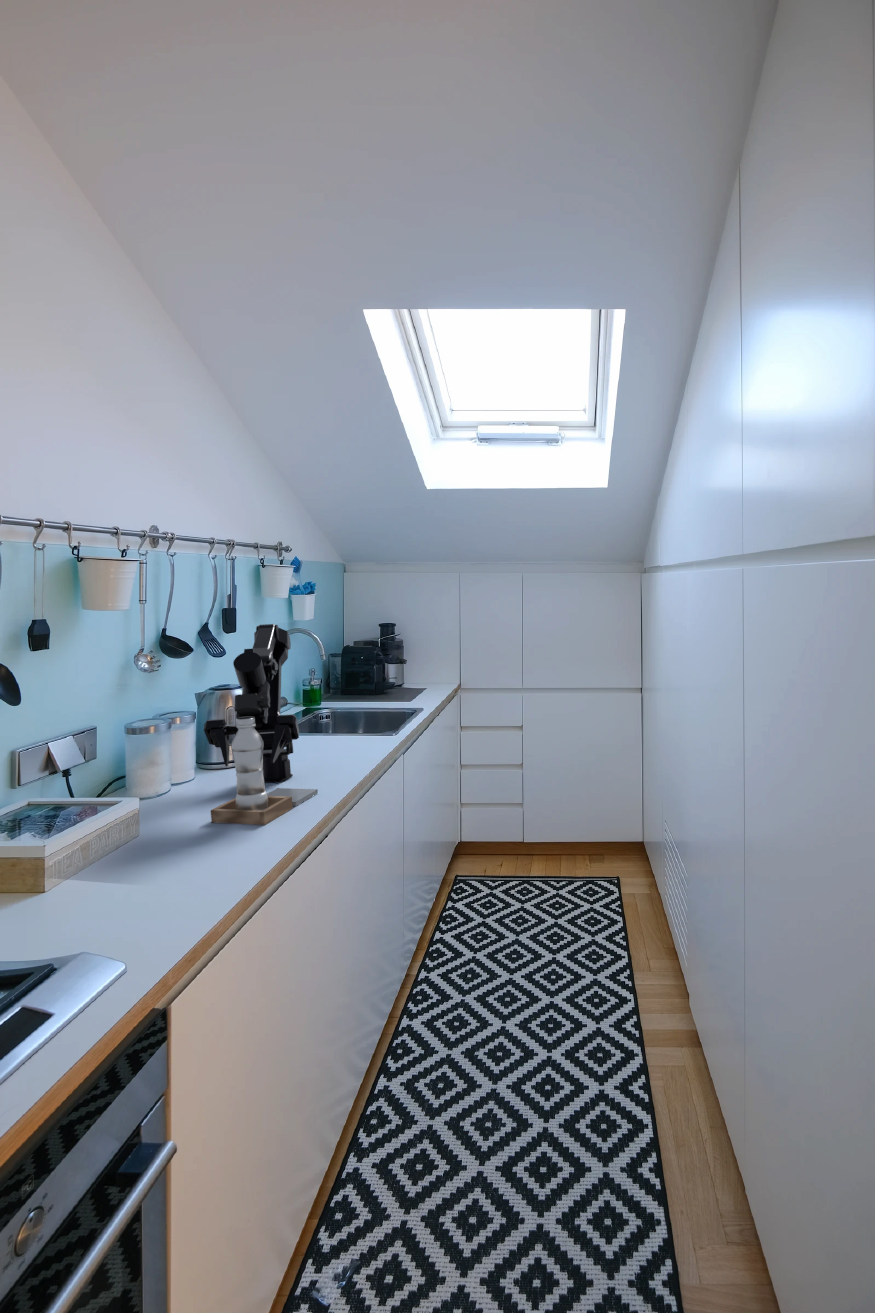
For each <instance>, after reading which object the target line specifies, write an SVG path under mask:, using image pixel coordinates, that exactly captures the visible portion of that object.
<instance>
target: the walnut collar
mask: <svg viewBox="0 0 875 1313" xmlns="http://www.w3.org/2000/svg"><path fill="white" fill-rule="evenodd" d="M293 807H294V806H292V797H283V796H268V808H266V809H264V810H263V811H258V810H237V809H236V797H235V798H233V799H231V800H229V801H226V802H225V803H222V804H220V805H218V806H216V807H214V808H212V809H210V819H211V823H215V824H216V823H217V824H233V825H234V824H239V825H257V826H258V825H259V826H261V825H262V826H265V825H268V824H269V823H271V822H274V820H276V819H277V818H279V817H280V816H283V815H284V814H286V813H288V812H290V811H291V810H293V809H294V808H293ZM289 810H290V811H289Z"/></svg>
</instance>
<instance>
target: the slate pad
mask: <svg viewBox="0 0 875 1313" xmlns="http://www.w3.org/2000/svg"><path fill="white" fill-rule="evenodd" d="M318 791H319V790H318V788H293V787H292V788H288V787H284V788H283V787H281V788H280V787H277V788H275V789H274V790H273V789H272V790H271V791H269V792H267V796H283V797H292V806H293V807H294V806H296V807H298V806H300V805H301V804H302V802H303V801H305V800H306V801H308V800H310V799H312V798H313V797H314V796H313V795H315V794H316V795H318V794H317V793H318ZM316 795H315V796H316ZM312 796H313V797H312ZM309 798H310V799H309ZM307 799H308V800H307ZM306 801H305V802H306ZM303 803H304V802H303ZM299 804H300V805H299ZM297 805H298V806H297Z"/></svg>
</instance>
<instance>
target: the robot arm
mask: <svg viewBox="0 0 875 1313" xmlns="http://www.w3.org/2000/svg"><path fill="white" fill-rule="evenodd" d="M255 630H256V631H255V632H254V633H253V636H254V638H253V641H254V642H253V645H252V648H244V649H243V652H242V653H241V654H238V655H237V656H236V657H235V658H234V659H233V662H232V663H233V664H232V665H233V668H234V671H235V674H236V679H237V681H238V684H239V686H240V687H241V688H242V692H241V693H240V694H235V696H234V712H236V714H235V719H236V718H239V717H246V716H253V717H254V718H255V724H256V726H255V727H254V728H255V730H256V731H257V732H258V733H259V735H260V736H261V737H262V740H263V768H262V769H263V777H264V783H282V782H283V781H286V780H288V779H290V778H291V777H293V773H291V772H292V770H291V762H290V761H291V760H290V759H289V755H291V754H294V743H293V741H295V740H298V739H299V738H300V727H299V724H298V723H299V722H298V717H297V716H296V715H295V714H294V713H293V714H281V704H282V703H281V701H282V700H281V698H282V697H281V696H282V666H283V665H284V664H285V663H286V662H287V660H288V658H289V650H291V643H292V642H291V635H290V633H289V631H287V630H286V629H283V628H281V627H279V624H275V623H269V624H267V623H266V624H265V623H264V624H259V625H256V627H255ZM203 725H204V726H203V731H204V734H205V737H206V739H207V742H208V744H209V745H212V746H214V747H215V748H220V751H221V754H222V759H223V762H224V765H225V767H228V766H229V762H230V748H231V745H230V742H229V741H230V736H235V734H236V733H237V731H238V728H236V725H237V723H236V724H227V722H226V719H225V718H217V719H216V718H214V719H207V720H206V721H205V723H204V724H203ZM289 777H290V778H289ZM287 778H288V779H287Z"/></svg>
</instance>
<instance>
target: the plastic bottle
mask: <svg viewBox="0 0 875 1313" xmlns="http://www.w3.org/2000/svg"><path fill="white" fill-rule="evenodd" d="M235 722H236V724H237V725H236V728H238V731H237V733H236V734H235V735H233V738H232V740H231V742H230V744H231V745H230V748H231V754H232V757H233V762H234V768H235V776H236V794H235V798H236V809H237V810H258V811H263V810H264V809H266V808H268V796H267V793H268V792H267V791H266V786H265V785H266V784H265V782H264V777H263V769H262V768H263V740H262V737H261V736H260V735H259V733H258V732H257V731H256V730H255V728H254V727H255V726H256V724H255V718H254V717H253V716H246V717H239V718H236V717H235Z"/></svg>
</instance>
